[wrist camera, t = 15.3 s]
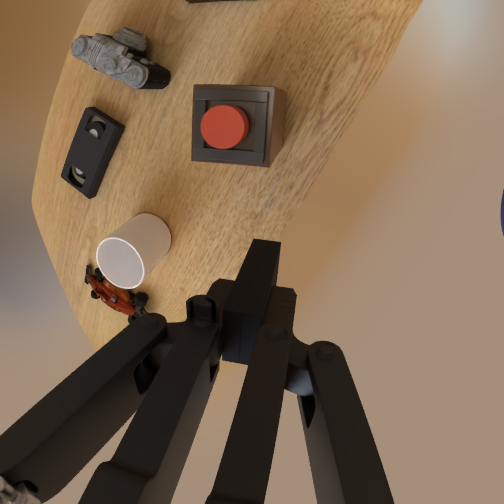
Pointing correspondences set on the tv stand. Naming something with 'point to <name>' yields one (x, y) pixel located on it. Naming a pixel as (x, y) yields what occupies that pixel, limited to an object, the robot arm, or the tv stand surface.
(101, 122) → the vhs tape
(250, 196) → the tv stand surface
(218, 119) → the press knob
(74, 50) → the camera
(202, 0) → the dial panel
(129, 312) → the toy car
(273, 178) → the tv stand surface
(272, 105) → the pillar
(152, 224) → the mug
